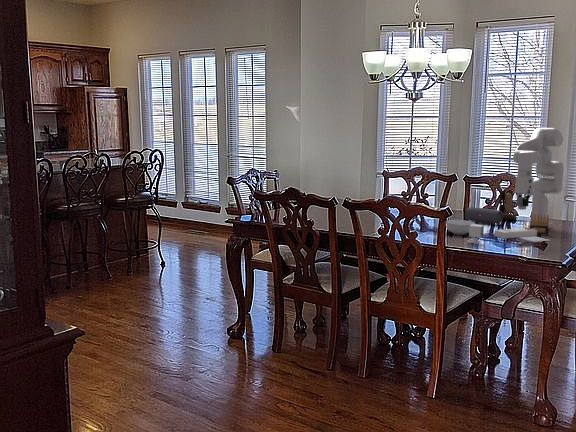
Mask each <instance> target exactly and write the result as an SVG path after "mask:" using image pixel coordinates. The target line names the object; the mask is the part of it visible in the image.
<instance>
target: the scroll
mask: <svg viewBox="0 0 576 432" xmlns="http://www.w3.org/2000/svg"><path fill="white" fill-rule="evenodd" d="M514 194H515V193H514V191H512V190H509V191H507V192H505V191H504V190H502V191H500V192H499V201H498V203H499V206H498V211H501V212H502V215H503V219H502V220H503V221H504V222H506V220H514V221H517V219H518V217H517V215H515V214H513V210H514V208H513V204H514ZM504 204H505V205H504Z"/></svg>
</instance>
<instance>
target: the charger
mask: <svg viewBox="0 0 576 432" xmlns="http://www.w3.org/2000/svg"><path fill="white" fill-rule="evenodd" d="M523 199H524V196H522V197H517V196H516V207H517V209H518V210H520V211H523V210H527V207H529V204H530V203H529V202H530V198H529V199H528V206H523Z"/></svg>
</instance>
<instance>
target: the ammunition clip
mask: <svg viewBox="0 0 576 432" xmlns="http://www.w3.org/2000/svg"><path fill="white" fill-rule="evenodd" d="M530 214H531V213H530ZM549 221H550V216H549V214H548V215H547V219H546V216H545V215H544V218H543V221H542V214H541V217H540V223H539V214H538V216H537V221H536V214H535V215H534V220H533V215H532V214H531V215H530V219H529V225H530V228H531V229H534V230H537V235H542V234H546V235H545V236H549V229H550V224H549ZM542 223H543V225H542ZM545 225H546V226H545ZM548 228H549V229H548Z"/></svg>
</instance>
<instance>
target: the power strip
mask: <svg viewBox="0 0 576 432" xmlns="http://www.w3.org/2000/svg"><path fill="white" fill-rule="evenodd" d="M533 236H536V237H538V234H537V230H534V229H533V228H532V229H531V228H529V227H521V228H507V229H494V237H496V238H501V239H515V238H517V239H518V238H520V237H533Z"/></svg>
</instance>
